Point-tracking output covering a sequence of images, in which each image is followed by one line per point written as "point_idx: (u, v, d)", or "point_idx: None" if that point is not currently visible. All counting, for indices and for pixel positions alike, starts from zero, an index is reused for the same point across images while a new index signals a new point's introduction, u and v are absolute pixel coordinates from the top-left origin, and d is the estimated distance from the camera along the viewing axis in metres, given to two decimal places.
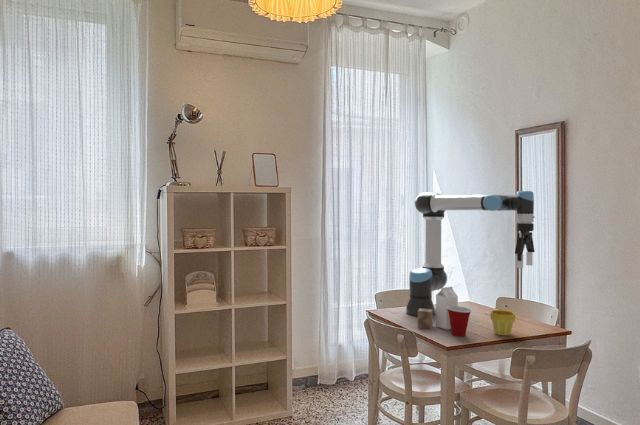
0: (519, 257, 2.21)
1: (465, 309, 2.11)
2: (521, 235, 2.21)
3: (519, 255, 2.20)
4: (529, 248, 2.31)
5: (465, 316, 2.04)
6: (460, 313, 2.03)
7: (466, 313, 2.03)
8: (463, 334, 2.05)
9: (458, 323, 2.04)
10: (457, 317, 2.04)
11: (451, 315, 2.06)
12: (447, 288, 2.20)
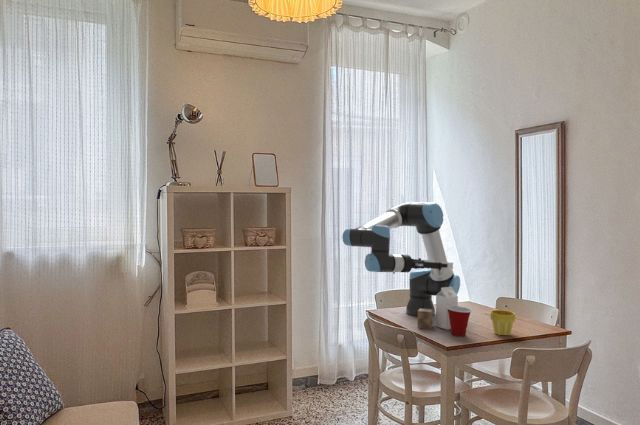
0: None
1: (465, 309, 2.11)
2: None
3: None
4: None
5: (465, 316, 2.04)
6: (460, 313, 2.03)
7: (466, 313, 2.03)
8: (463, 334, 2.05)
9: (458, 323, 2.04)
10: (457, 317, 2.04)
11: (451, 315, 2.06)
12: (447, 288, 2.20)
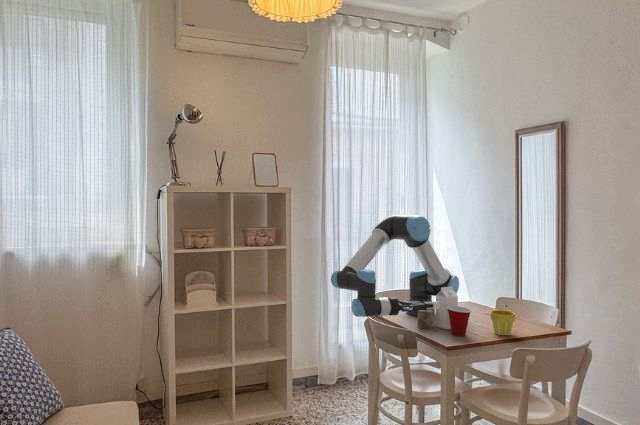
0: None
1: (465, 309, 2.11)
2: None
3: None
4: None
5: (465, 316, 2.04)
6: (460, 313, 2.03)
7: (466, 313, 2.03)
8: (463, 334, 2.05)
9: (458, 323, 2.04)
10: (457, 317, 2.04)
11: (451, 315, 2.06)
12: (447, 288, 2.20)
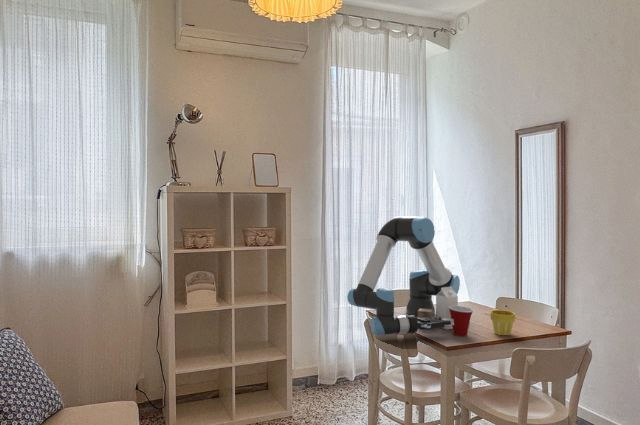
0: None
1: (466, 309, 2.11)
2: None
3: None
4: None
5: (467, 316, 2.04)
6: (462, 312, 2.03)
7: (468, 313, 2.03)
8: (465, 334, 2.05)
9: (460, 323, 2.04)
10: (459, 317, 2.04)
11: (453, 315, 2.06)
12: (447, 288, 2.20)
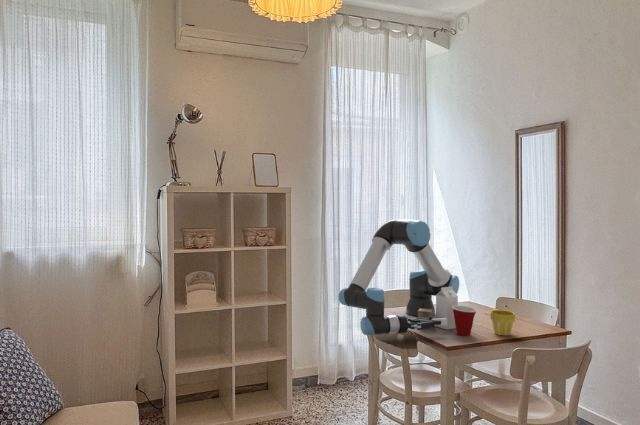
0: None
1: (470, 309, 2.11)
2: None
3: None
4: None
5: (470, 316, 2.04)
6: (466, 312, 2.03)
7: (471, 313, 2.04)
8: (468, 334, 2.06)
9: (464, 323, 2.05)
10: (463, 317, 2.04)
11: (456, 315, 2.06)
12: (447, 288, 2.20)
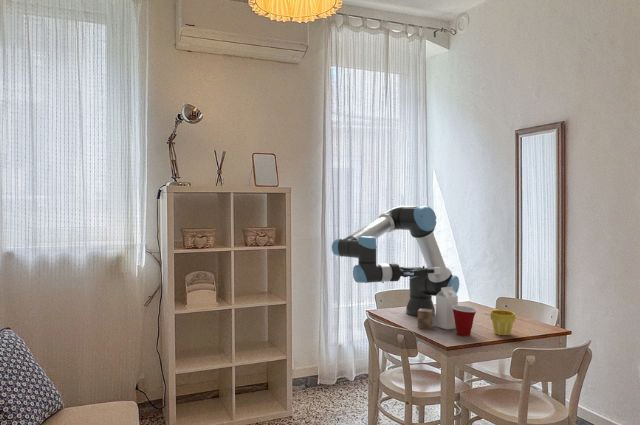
0: None
1: (470, 309, 2.11)
2: None
3: None
4: None
5: (470, 316, 2.04)
6: (466, 312, 2.03)
7: (471, 313, 2.04)
8: (468, 334, 2.06)
9: (464, 323, 2.05)
10: (463, 317, 2.04)
11: (456, 315, 2.06)
12: (447, 288, 2.20)
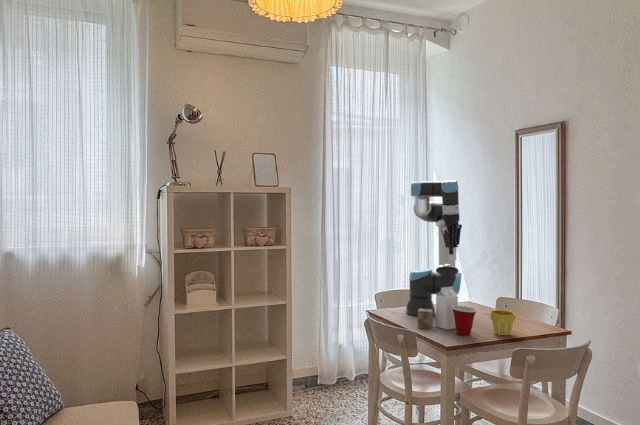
0: (450, 251, 2.24)
1: (470, 309, 2.11)
2: (444, 232, 2.20)
3: (450, 249, 2.24)
4: (453, 241, 2.25)
5: (470, 316, 2.04)
6: (466, 312, 2.03)
7: (471, 313, 2.04)
8: (468, 334, 2.06)
9: (464, 323, 2.05)
10: (463, 317, 2.04)
11: (456, 315, 2.06)
12: (447, 288, 2.20)
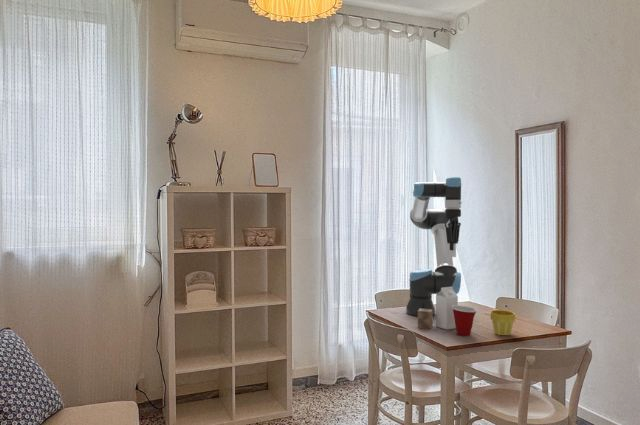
0: (451, 246, 2.27)
1: (470, 309, 2.11)
2: (448, 225, 2.24)
3: (451, 244, 2.27)
4: None
5: (470, 316, 2.04)
6: (466, 312, 2.03)
7: (471, 313, 2.04)
8: (468, 334, 2.06)
9: (464, 323, 2.05)
10: (463, 317, 2.04)
11: (456, 315, 2.06)
12: (447, 288, 2.20)
